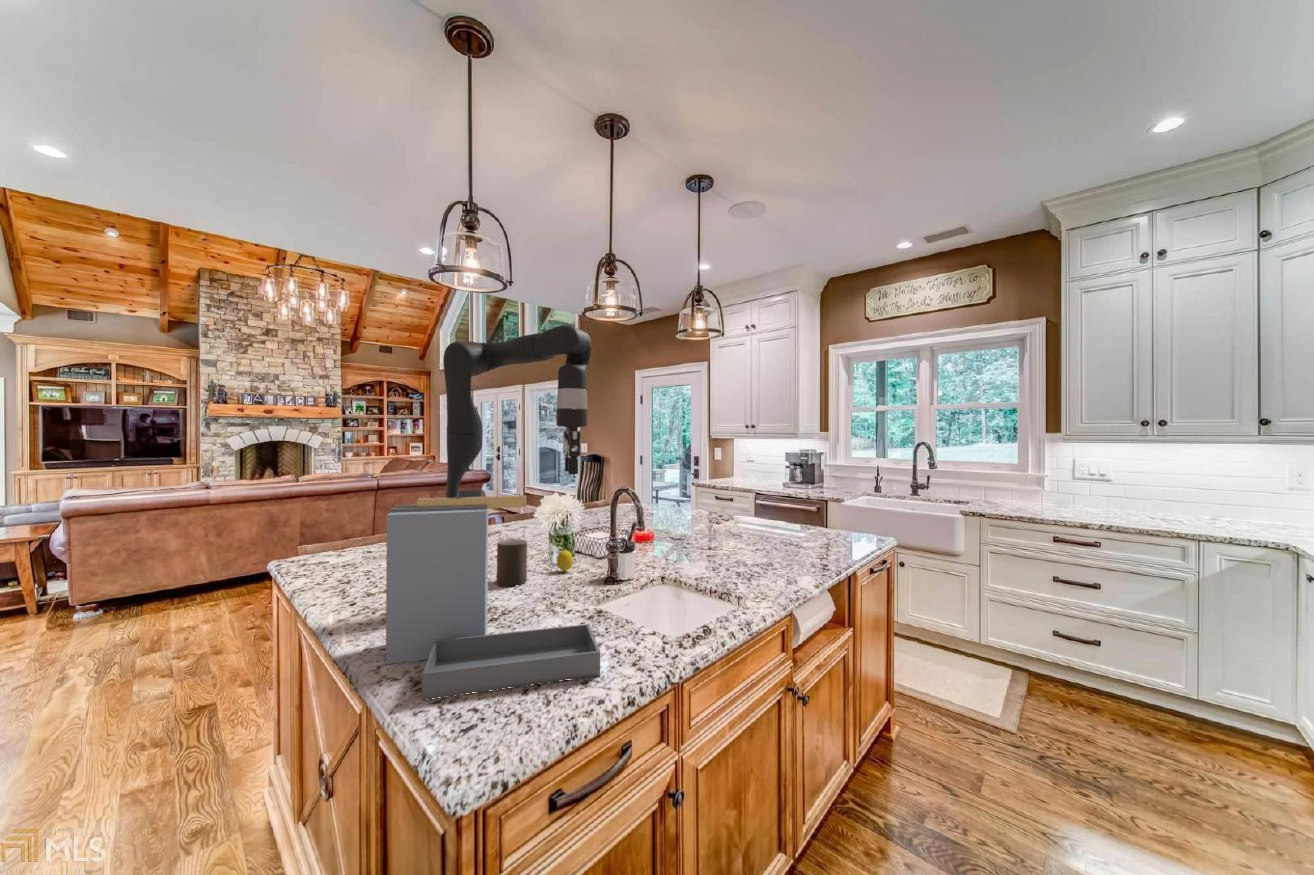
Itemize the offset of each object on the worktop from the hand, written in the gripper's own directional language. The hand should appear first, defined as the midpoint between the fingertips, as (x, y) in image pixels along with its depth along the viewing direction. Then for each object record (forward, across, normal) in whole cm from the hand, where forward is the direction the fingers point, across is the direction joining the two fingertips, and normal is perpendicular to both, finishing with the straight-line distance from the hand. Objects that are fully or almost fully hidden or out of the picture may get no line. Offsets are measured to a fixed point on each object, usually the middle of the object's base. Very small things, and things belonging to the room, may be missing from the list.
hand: (571, 472), depth 120 cm
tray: (+40, +16, -13) cm, 45 cm away
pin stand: (+40, 0, -30) cm, 50 cm away
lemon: (+40, -55, +4) cm, 68 cm away
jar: (+40, -42, +23) cm, 63 cm away
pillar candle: (+40, -46, -14) cm, 63 cm away
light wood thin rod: (+8, 0, -23) cm, 24 cm away
